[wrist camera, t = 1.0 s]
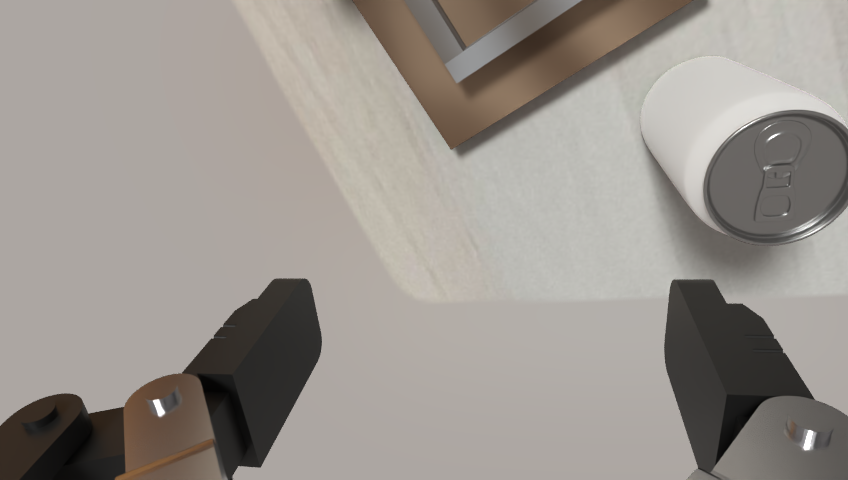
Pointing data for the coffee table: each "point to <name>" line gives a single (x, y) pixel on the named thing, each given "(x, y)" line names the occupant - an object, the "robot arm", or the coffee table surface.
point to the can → (748, 150)
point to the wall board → (499, 49)
